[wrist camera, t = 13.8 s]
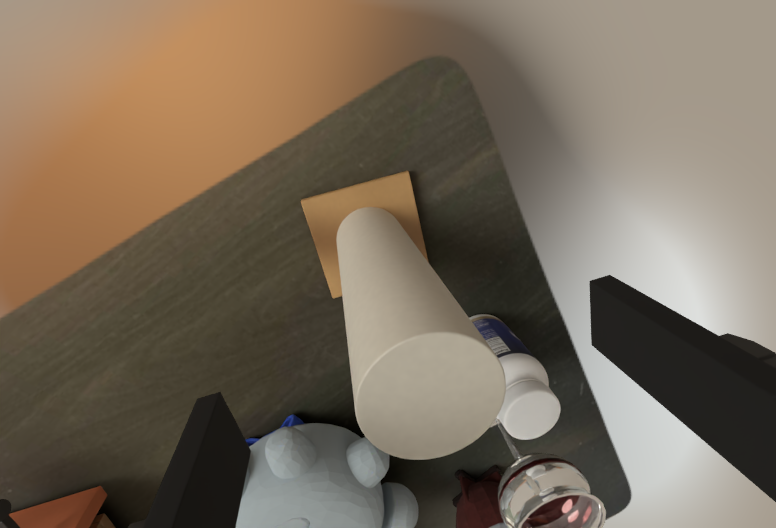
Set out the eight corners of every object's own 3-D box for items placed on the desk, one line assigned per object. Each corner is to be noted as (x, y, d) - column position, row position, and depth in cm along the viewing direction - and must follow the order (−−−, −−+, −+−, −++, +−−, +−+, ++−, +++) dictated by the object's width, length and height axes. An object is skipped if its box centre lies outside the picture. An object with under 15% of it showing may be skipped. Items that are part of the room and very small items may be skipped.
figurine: (162, 458, 33) (293, 553, 43) (123, 570, 26) (292, 655, 35) (339, 361, 32) (431, 479, 42) (351, 447, 25) (460, 568, 34)
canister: (327, 217, 28) (335, 360, 11) (394, 198, 28) (496, 312, 12) (346, 278, 30) (376, 478, 13) (408, 260, 30) (514, 434, 14)
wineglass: (445, 429, 38) (497, 558, 26) (473, 371, 36) (541, 485, 25) (505, 439, 39) (577, 566, 28) (535, 385, 37) (624, 498, 26)
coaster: (300, 199, 28) (300, 200, 27) (407, 170, 28) (408, 171, 28) (332, 295, 31) (332, 299, 30) (428, 268, 31) (430, 270, 31)
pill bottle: (516, 343, 35) (582, 421, 26) (466, 374, 36) (514, 461, 27) (491, 300, 33) (553, 368, 24) (438, 334, 34) (480, 412, 25)
